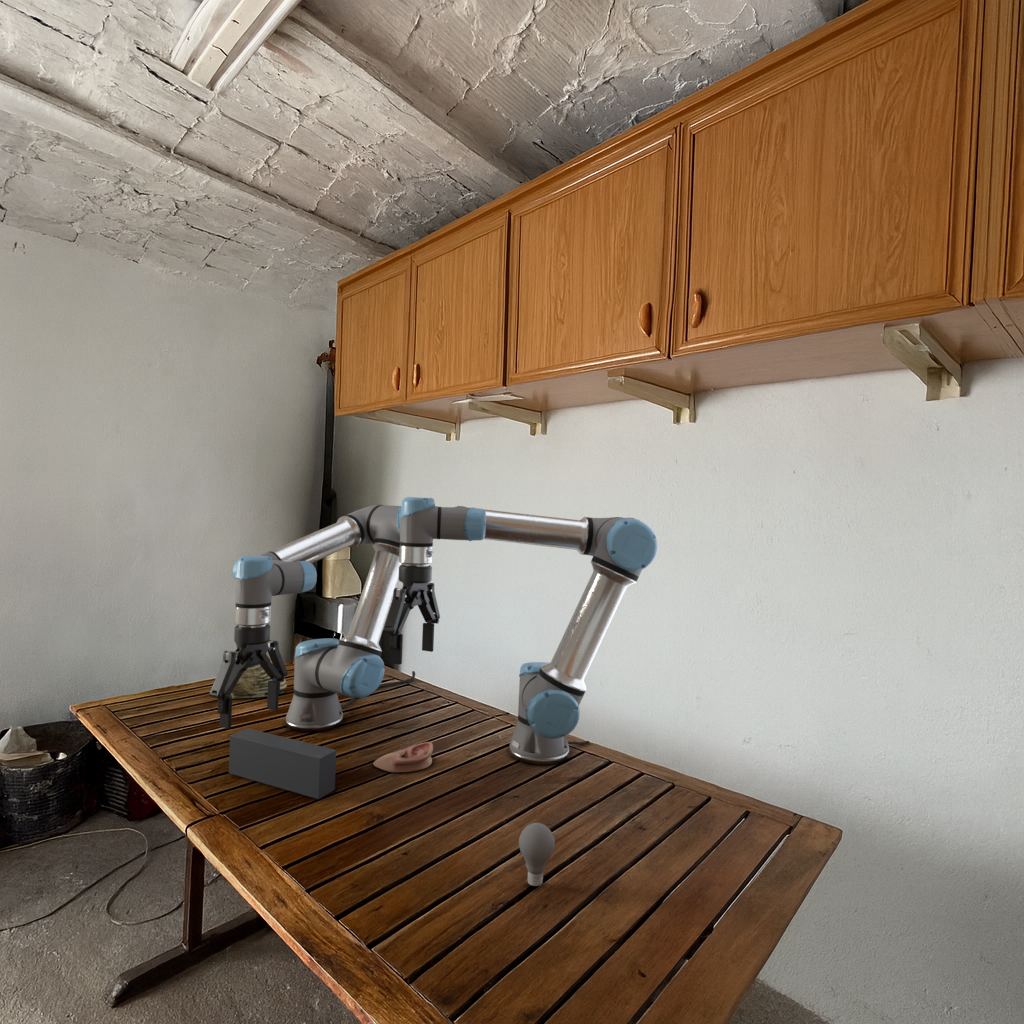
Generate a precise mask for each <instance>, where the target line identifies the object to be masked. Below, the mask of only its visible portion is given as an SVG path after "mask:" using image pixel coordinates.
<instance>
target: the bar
mask: <svg viewBox="0 0 1024 1024" xmlns="http://www.w3.org/2000/svg"><path fill="white" fill-rule="evenodd" d="M228 753H229V755H228V757H229V758H228V774H230V775H233V776H237V777H240V778H244V779H247V780H251V781H253V782H258V783H261V784H264V785H268V786H272V787H275V788H279V789H282V790H285V791H289V792H292V793H296V794H299V795H302V796H306V797H310V798H313V799H315V800H316V799H317V800H320V799H322V798H323V797H325V796H327V795H328V794H330V793H332V792H333V791H335V789H336V769H337V768H336V765H337V749H333V748H329V747H326V746H321V745H317V744H314V743H309V742H305V741H301V740H297V739H293V738H290V737H285V736H282V735H281V736H280V735H277V734H273V733H268V732H264V731H261V730H258V729H257V730H256V729H253V728H249V727H247V728H245V729H242V730H240V731H237V732H235V733H232V734H230V735H229V752H228Z"/></svg>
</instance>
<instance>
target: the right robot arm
mask: <svg viewBox="0 0 1024 1024" xmlns="http://www.w3.org/2000/svg"><path fill="white" fill-rule="evenodd" d="M401 506H402V507H401V516H400V549H399V562H400V563H401V565H400V566H399V578H398V579H399V581H398V582H401V583H402V587H401V588H399V587H396V588H395V589H394V592H393V599H392V603H391V606H390V609H389V612H388V615H387V618H386V621H385V625H384V628H383V632H384V633H385V634H389V664H393V665H402V664H403V642H404V641H403V640H404V637H403V636H404V634H402V631H403V628H404V627H405V623H406V622H407V619H408V618H409V615H410V613H411V610H413V609H414V608H415V607H416V606H417V607H418V609H419V611H420V614H421V615H422V618H423V620H424V622H423V623H422V636H421V638H422V639H421V651H424V652H430V653H432V652H434V644H435V643H434V641H435V640H434V639H435V624H439V622H440V619H441V615H440V609H439V606H438V600H437V597H436V593H435V583H434V582H431V581H432V580H433V578H432V577H433V567H432V565H431V564H432V563H433V555H434V551H433V546H434V540H448V541H449V540H451V541H468V542H473V541H483V540H485V541H486V540H487V541H494V542H495V541H496V542H503V543H514V544H523V545H530V546H540V547H548V548H555V549H556V548H557V549H567V550H573V551H577V552H578V554H579V555H583V556H592V558H591V560H590V564H591V567H592V573H591V576H590V578H589V579H588V582H587V584H586V586H585V588H584V591H583V592H582V594H581V596H580V599H579V601H578V602H577V605H576V607H575V609H574V611H573V614H572V616H571V618H570V620H569V622H568V624H567V627H566V629H565V631H564V633H563V635H562V637H561V640H560V641H559V644H558V646H557V648H556V650H555V652H554V655H553V657H552V659H551V660H550V661H549V662H546V661H532V662H525V663H522V664H521V666H520V668H519V674H518V677H519V685H518V705H517V707H518V708H517V722H516V725H515V728H514V731H513V734H512V736H511V739H510V742H509V750H508V751H509V754H510V756H511V757H512V758H513V759H516V760H518V761H520V762H523V763H526V764H531V765H536V766H537V765H540V766H544V765H545V766H547V765H555V764H560V763H562V762H564V761H566V760H567V759H569V756H570V746H569V745H578V746H579V745H580V746H582V745H588V744H590V741H589V740H586V741H574V740H573V741H571V740H570V741H569V740H568V738H567V736H568V735H570V734H571V733H572V732H573V731H574V730H575V728H576V727H577V726H578V723H579V720H580V711H581V709H580V704H581V702H582V701H583V698H584V696H585V694H586V691H587V686H586V683H585V678H586V676H587V673H588V671H589V670H590V667H591V665H592V662H593V661H594V658H595V657H596V654H597V652H598V650H599V649H600V645H601V644H602V641H603V639H604V637H605V635H606V633H607V630H608V629H609V626H610V624H611V622H612V620H613V618H614V616H615V613H616V612H617V609H618V607H619V605H620V603H621V601H622V598H623V596H624V594H625V592H626V590H627V588H628V587H629V586H632V585H635V584H637V582H638V580H639V577H640V575H641V573H642V571H643V570H645V569H646V568H648V567H649V566H650V564H652V563H653V561H654V560H655V558H656V555H657V552H658V540H657V537H656V534H655V532H654V531H653V529H652V528H651V527H650V525H648V524H647V523H645V522H644V521H642V520H640V519H637V518H634V517H621V516H611V517H589V516H583V517H582V518H581V519H573V518H572V519H571V518H563V517H553V516H547V515H546V516H545V515H536V514H535V515H534V514H528V513H519V512H510V511H501V510H494V509H493V510H492V509H486V508H485V509H483V508H478V507H466V506H464V505H463V506H461V505H457V506H438V505H436V502H435V499H434V498H433V497H416V496H415V497H414V496H406V497H404V498H403V499H402V501H401Z"/></svg>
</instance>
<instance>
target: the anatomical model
mask: <svg viewBox="0 0 1024 1024" xmlns="http://www.w3.org/2000/svg"><path fill="white" fill-rule="evenodd" d="M433 751H434V744H433V743H432V742H430V741H426V742H422V743H418V744H414V745H411V746H408V747H406V748H403V749H401V750H397V751H394V752H390V753H387V754H385V755H382V756H381V757H378V758H377V759H375V760H374V762H373V763H372V764H373V766H374V767H375V768H378V769H380V770H382V771H385V772H388V773H408V772H416V771H420V770H424V769H426V768H428V767H430V766H431V765H432V763H433V758H432V756H431V755H432V754H433Z"/></svg>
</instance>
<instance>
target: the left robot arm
mask: <svg viewBox="0 0 1024 1024" xmlns="http://www.w3.org/2000/svg"><path fill="white" fill-rule="evenodd" d="M401 507H402V505H387V504H374V505H368V506H365V507H363V508H359V509H357V510H355V511H352V512H350V513H347V514H345V515H343V516H340V517H339V518H338V519H337V521H336V523H333V524H331V525H328V526H326V527H323V528H321V529H319V530H316V531H314V532H311V533H309V534H307V535H304V536H302V537H300V538H298V539H294V540H293V541H290V542H288V543H285V544H283V545H281V546H279V547H276V548H274V549H272V550H269V551H267V552H264V553H261V554H259V555H258V554H257V555H243V556H240V557H239V558H238V559H237V560H236V561H235V563H234V565H233V567H232V577H233V579H234V581H235V606H234V624H235V625H236V626H234V633H233V639H234V640H233V642H234V643H235V646H236V647H235V650H231V651H230V650H224V652H223V653H222V661H221V664H220V666H219V669H218V672H217V673H216V677H215V679H214V682H213V684H212V686H211V689H210V692H209V693H208V694H209V697H211V698H215V699H217V714H219V724H218V725H219V728H223V729H227V730H229V729H232V717H233V716H232V715H233V714H232V713H233V698H230V694H231V692H232V691H233V689H234V687H235V686H236V684H237V682H238V681H239V679H240V677H241V676H242V674H243V672H244V671H246V670H247V669H248V667H249V668H250V667H253V666H254V665H260V666H261V667H262V668H263V669H264V671H265V672H266V673H267V674H268V676H269V677H270V678H271V679H272V681H271V680H270V681H268V695H267V696H266V700H267V702H266V709H267V710H273V711H278V710H279V695H281V693H280V681H281V682H283V681H284V679H285V680H286V677H288V675H289V674H288V673H289V672H288V670H287V667H286V664H285V662H284V659H283V657H282V654H281V651H280V645H279V641H278V640H273V639H271V625H270V623H271V619H272V618H271V614H272V597H276V596H282V595H291V594H301V593H306V592H309V591H311V590H312V589H314V587H315V586H316V584H317V578H318V573H317V570H316V567H315V566H314V563H316V562H318V561H320V560H322V559H325V558H326V557H329V556H331V555H333V554H335V553H338V552H340V551H342V550H344V549H346V548H351V549H352V548H353V549H354V548H357V547H359V546H362V545H372V548H373V550H374V556H373V558H372V562H371V564H370V568H369V571H368V574H367V576H366V579H365V582H364V585H363V588H362V592H361V594H360V597H359V600H358V604H357V606H356V609H355V612H354V615H353V617H352V621H351V624H350V626H349V629H348V633H347V634H346V635H345V636H342V637H341V638H340V639H338V638H335V637H334V638H331V637H329V638H315V639H308V640H304V641H301V642H299V643H298V644H297V645H296V646H295V652H294V656H293V659H294V661H293V662H294V663H293V664H294V668H293V695H292V696H293V697H292V699H291V702H290V704H289V708H288V711H287V713H286V715H285V726H286V728H287V729H289V730H291V731H294V732H295V731H296V732H301V733H316V732H325V731H329V730H332V729H335V728H337V727H339V726H340V725H342V723H343V722H344V713H343V709H345V708H347V707H349V706H351V704H352V703H353V702H355V701H356V700H357V699H365V698H367V697H370V695H371V694H373V693H374V692H375V691H377V690H378V689H381V688H386V687H392V686H396V685H397V686H398V685H402V684H403V685H404V684H408V683H411V682H413V681H414V680H415V678H416V671H414V670H412V671H411V677H410V678H409V679H405V680H404V679H403V680H399V681H393V682H388V683H382V681H383V679H384V676H385V671H386V669H385V663H384V661H383V659H382V658H381V655H382V653H383V650H382V648H381V646H380V641H381V637H382V634H383V632H384V626H385V623H386V619H387V616H388V613H389V609H390V606H391V603H392V599H393V592H394V589H395V588H398V587H397V586H398V584H399V582H400V581H399V579H398V578H399V566H400V565H401V563H400V562H399V549H400V516H401ZM267 653H268V654H267ZM267 655H268V656H269V657H268V656H267ZM270 659H271V661H272V663H271V662H270ZM239 664H241V665H239ZM284 677H285V678H284ZM338 694H339V695H343V696H344V697H347V698H351V699H349V700H348V701H347V702H346V703H344V704H341V702H340V699H339V695H338Z"/></svg>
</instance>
